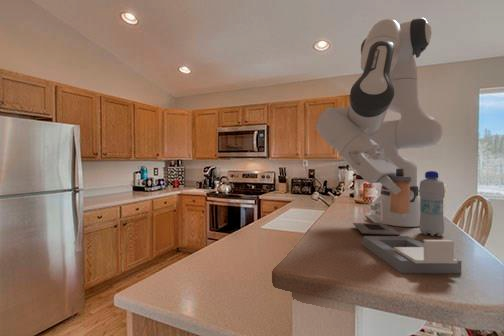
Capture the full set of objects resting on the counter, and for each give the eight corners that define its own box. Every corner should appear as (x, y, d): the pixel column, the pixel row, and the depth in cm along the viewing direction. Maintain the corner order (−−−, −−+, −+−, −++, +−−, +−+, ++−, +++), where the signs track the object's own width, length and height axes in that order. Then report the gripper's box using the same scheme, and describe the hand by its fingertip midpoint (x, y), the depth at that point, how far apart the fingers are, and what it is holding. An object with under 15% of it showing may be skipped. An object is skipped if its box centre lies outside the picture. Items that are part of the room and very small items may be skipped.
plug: (384, 214, 64) (384, 168, 64) (403, 214, 64) (403, 168, 64) (395, 217, 59) (395, 168, 59) (415, 217, 59) (416, 168, 59)
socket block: (363, 245, 69) (363, 236, 69) (407, 245, 68) (407, 236, 68) (400, 273, 51) (400, 260, 51) (461, 273, 50) (461, 261, 50)
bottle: (446, 238, 74) (446, 171, 74) (419, 235, 78) (419, 171, 78) (443, 233, 80) (443, 170, 80) (418, 230, 84) (418, 170, 84)
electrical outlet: (400, 240, 74) (400, 232, 74) (362, 239, 76) (362, 231, 76) (384, 230, 87) (384, 223, 87) (352, 228, 89) (352, 222, 89)
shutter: (393, 249, 57) (393, 229, 57) (429, 249, 57) (429, 229, 57) (419, 265, 48) (419, 241, 48) (461, 265, 48) (461, 241, 48)
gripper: (354, 141, 59) (402, 185, 52) (381, 146, 73) (421, 181, 67) (336, 160, 62) (379, 204, 55) (366, 162, 76) (402, 196, 70)
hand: (402, 191), depth 61 cm, fingers closed on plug, 4 cm apart
